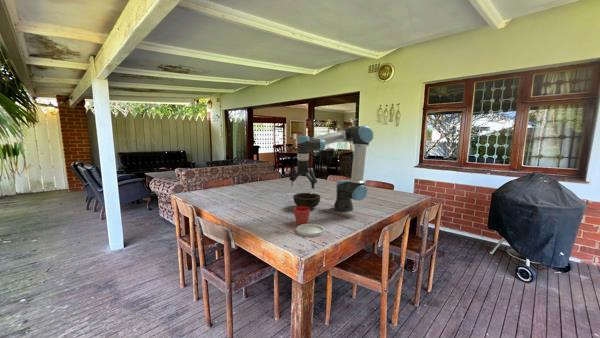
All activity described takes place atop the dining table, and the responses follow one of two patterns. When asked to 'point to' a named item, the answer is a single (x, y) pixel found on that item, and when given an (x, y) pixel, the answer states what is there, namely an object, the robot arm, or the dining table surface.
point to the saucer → (310, 230)
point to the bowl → (306, 200)
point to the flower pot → (301, 214)
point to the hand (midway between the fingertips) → (302, 192)
